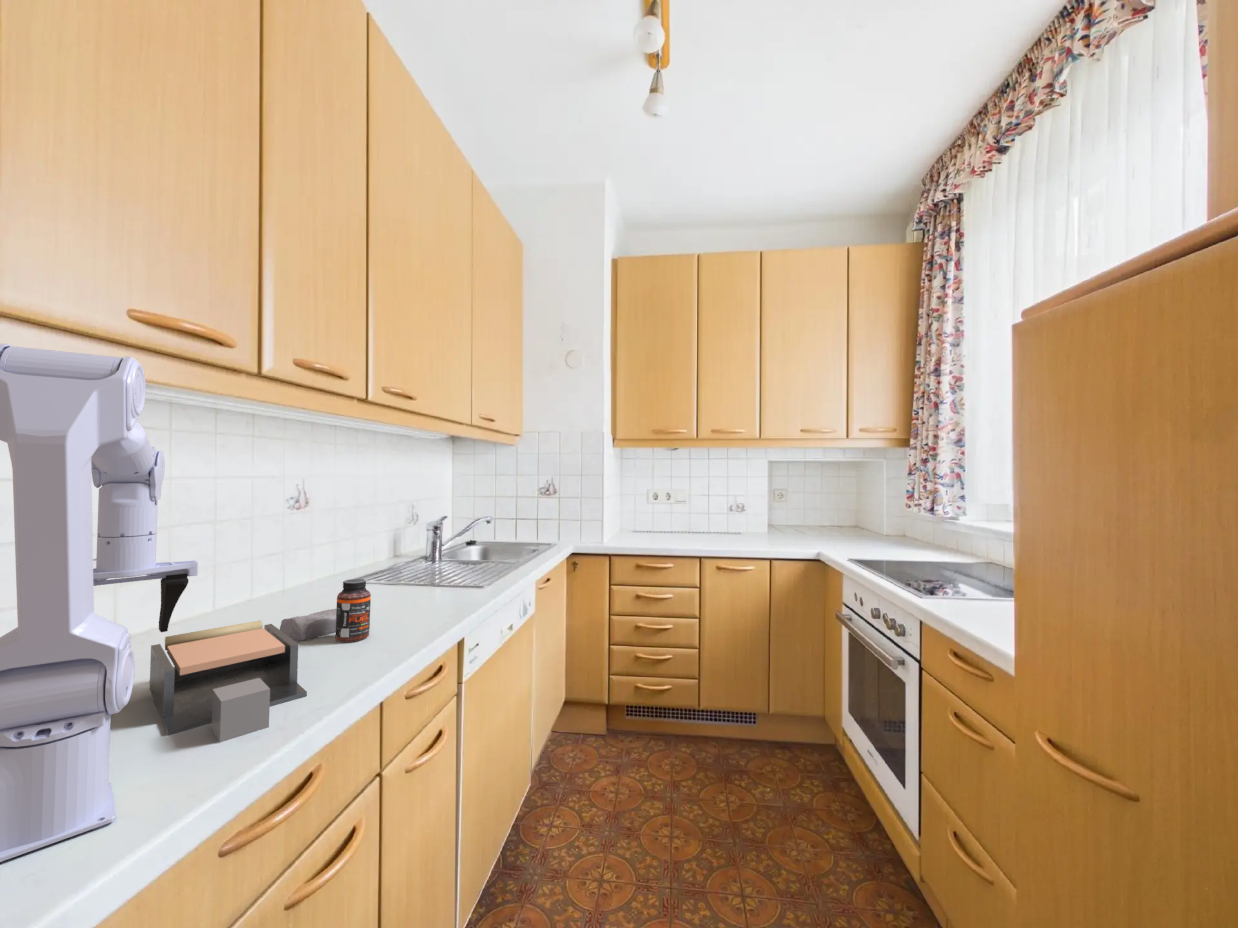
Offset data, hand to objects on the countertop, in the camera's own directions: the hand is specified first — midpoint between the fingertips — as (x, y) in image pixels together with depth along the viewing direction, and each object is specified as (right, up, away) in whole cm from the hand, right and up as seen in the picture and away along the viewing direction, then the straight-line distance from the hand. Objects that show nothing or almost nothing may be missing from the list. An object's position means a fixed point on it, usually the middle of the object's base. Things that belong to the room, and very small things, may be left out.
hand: (124, 636), depth 67 cm
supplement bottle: (+14, -11, +32) cm, 36 cm away
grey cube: (+18, -11, -3) cm, 21 cm away
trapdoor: (+6, -5, +9) cm, 12 cm away
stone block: (+4, -12, +37) cm, 39 cm away
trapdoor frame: (+8, -11, +7) cm, 15 cm away
